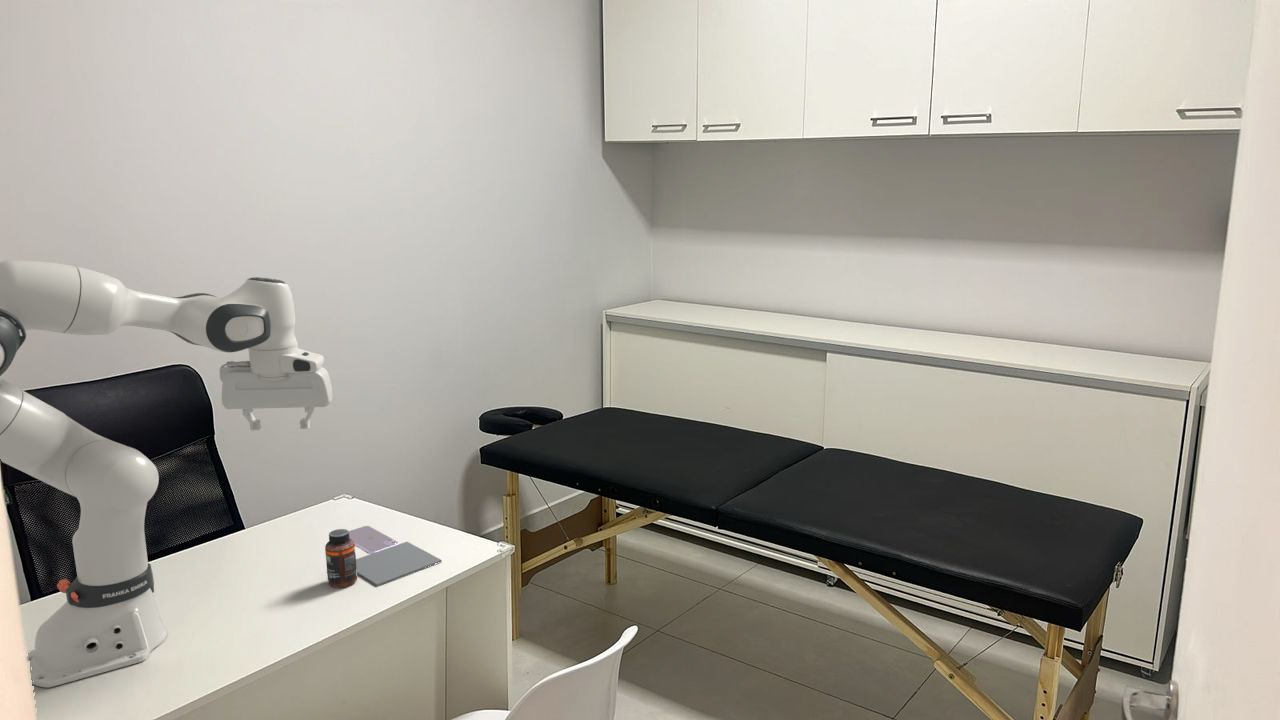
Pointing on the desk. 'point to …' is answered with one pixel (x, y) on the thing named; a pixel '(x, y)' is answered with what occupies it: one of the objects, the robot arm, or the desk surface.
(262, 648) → the desk surface
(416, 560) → the mat
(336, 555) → the supplement bottle
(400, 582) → the desk surface
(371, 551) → the mobile phone
